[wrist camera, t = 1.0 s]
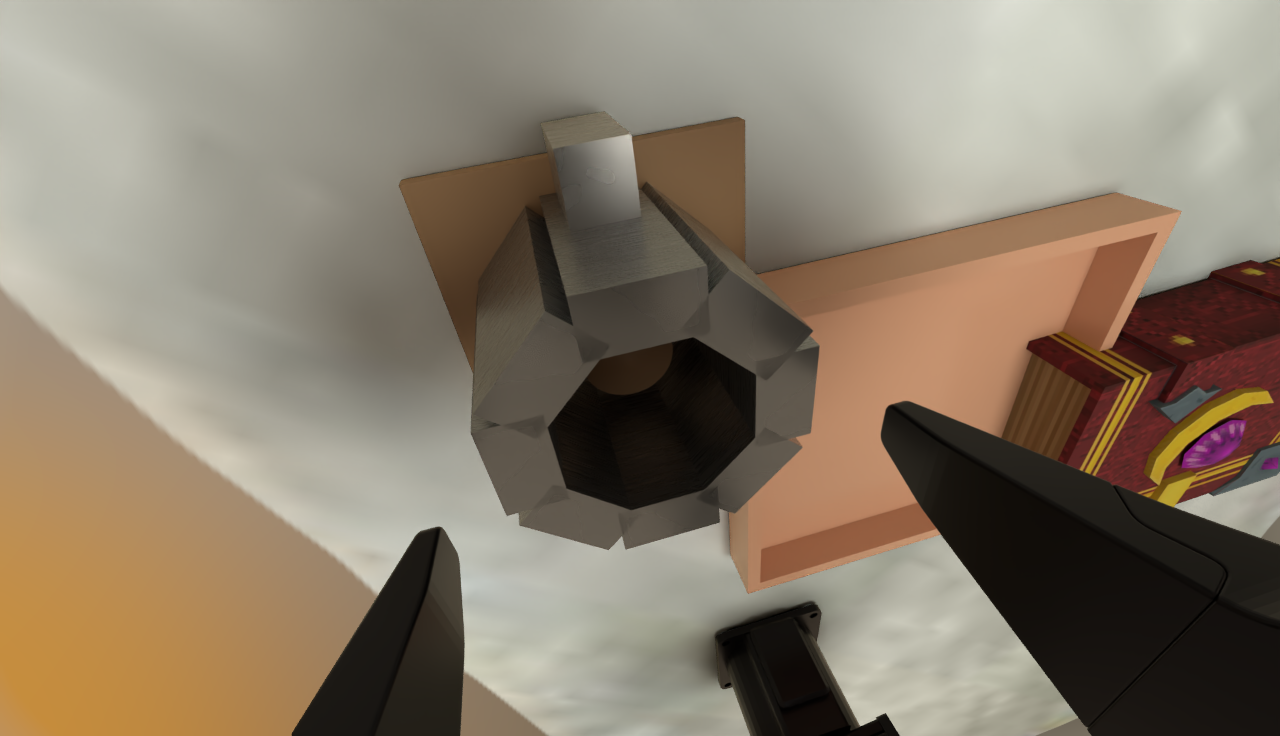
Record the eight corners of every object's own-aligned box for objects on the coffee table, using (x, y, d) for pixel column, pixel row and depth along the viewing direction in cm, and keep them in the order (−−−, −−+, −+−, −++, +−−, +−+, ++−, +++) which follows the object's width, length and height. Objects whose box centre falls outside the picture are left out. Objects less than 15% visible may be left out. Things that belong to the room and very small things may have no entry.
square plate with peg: (740, 376, 19) (782, 438, 16) (501, 437, 18) (504, 513, 15) (737, 117, 14) (799, 142, 11) (401, 179, 13) (377, 225, 10)
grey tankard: (721, 371, 18) (804, 497, 13) (520, 421, 17) (532, 576, 13) (711, 92, 13) (841, 137, 8) (424, 143, 12) (381, 228, 7)
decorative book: (1006, 324, 22) (1123, 393, 18) (1320, 233, 23) (1490, 279, 19) (951, 495, 29) (1027, 574, 25) (1198, 416, 30) (1306, 477, 26)
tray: (996, 475, 28) (1031, 506, 26) (730, 554, 26) (747, 593, 24) (1116, 192, 19) (1181, 211, 17) (721, 282, 17) (748, 313, 15)
